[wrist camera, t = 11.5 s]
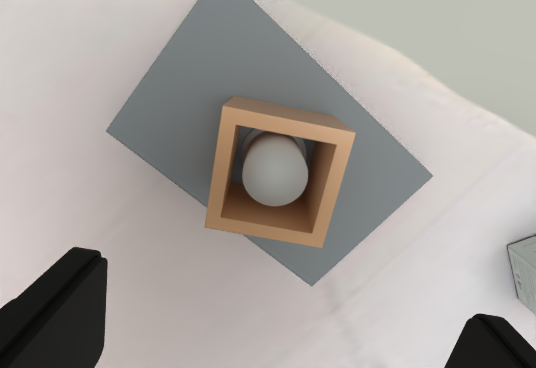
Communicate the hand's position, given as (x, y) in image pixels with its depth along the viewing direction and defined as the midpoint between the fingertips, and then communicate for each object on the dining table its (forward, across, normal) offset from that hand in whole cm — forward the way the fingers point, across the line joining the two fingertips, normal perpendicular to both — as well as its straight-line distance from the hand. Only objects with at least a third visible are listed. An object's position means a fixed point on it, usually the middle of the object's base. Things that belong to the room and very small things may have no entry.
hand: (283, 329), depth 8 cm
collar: (+16, 0, -1) cm, 16 cm away
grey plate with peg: (+18, 0, -1) cm, 18 cm away
